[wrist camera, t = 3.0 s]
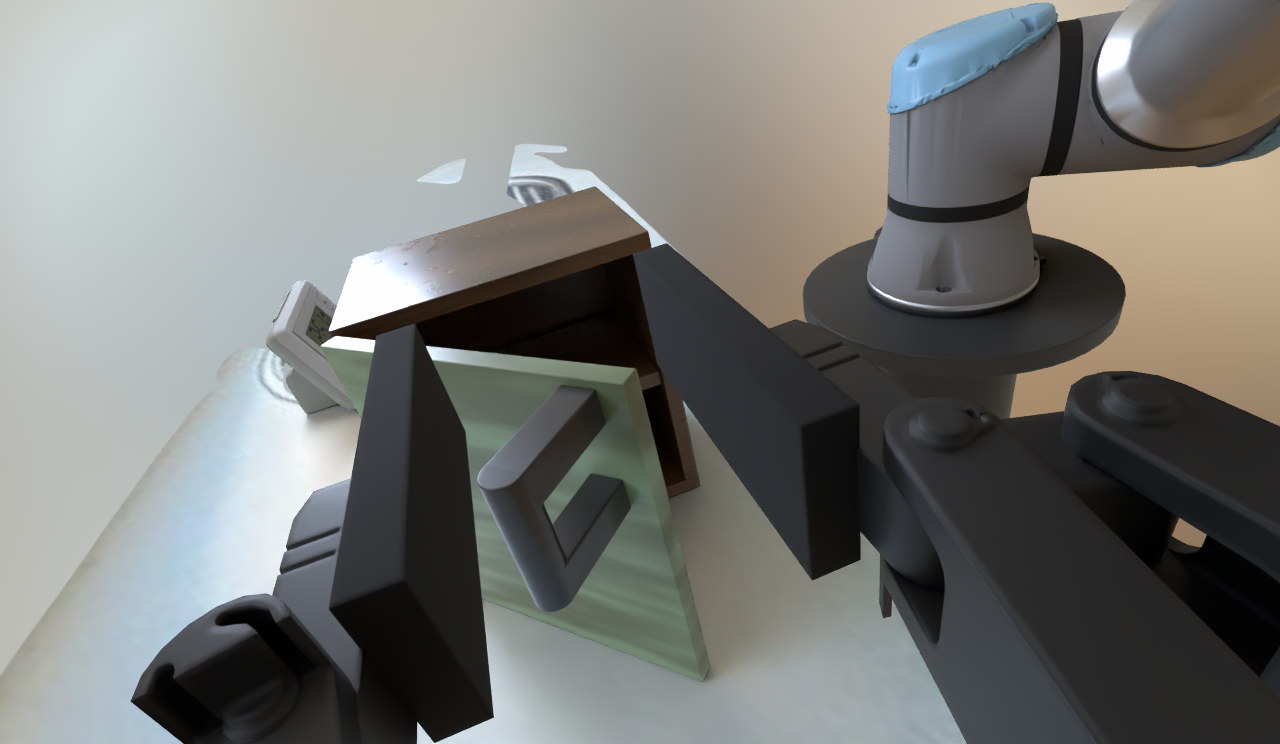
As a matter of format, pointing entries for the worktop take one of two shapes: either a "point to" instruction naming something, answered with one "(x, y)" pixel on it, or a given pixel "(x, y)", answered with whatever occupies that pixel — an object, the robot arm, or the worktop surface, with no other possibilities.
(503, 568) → the door
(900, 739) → the worktop surface
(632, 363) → the cupboard
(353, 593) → the robot arm
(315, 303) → the digital clock
